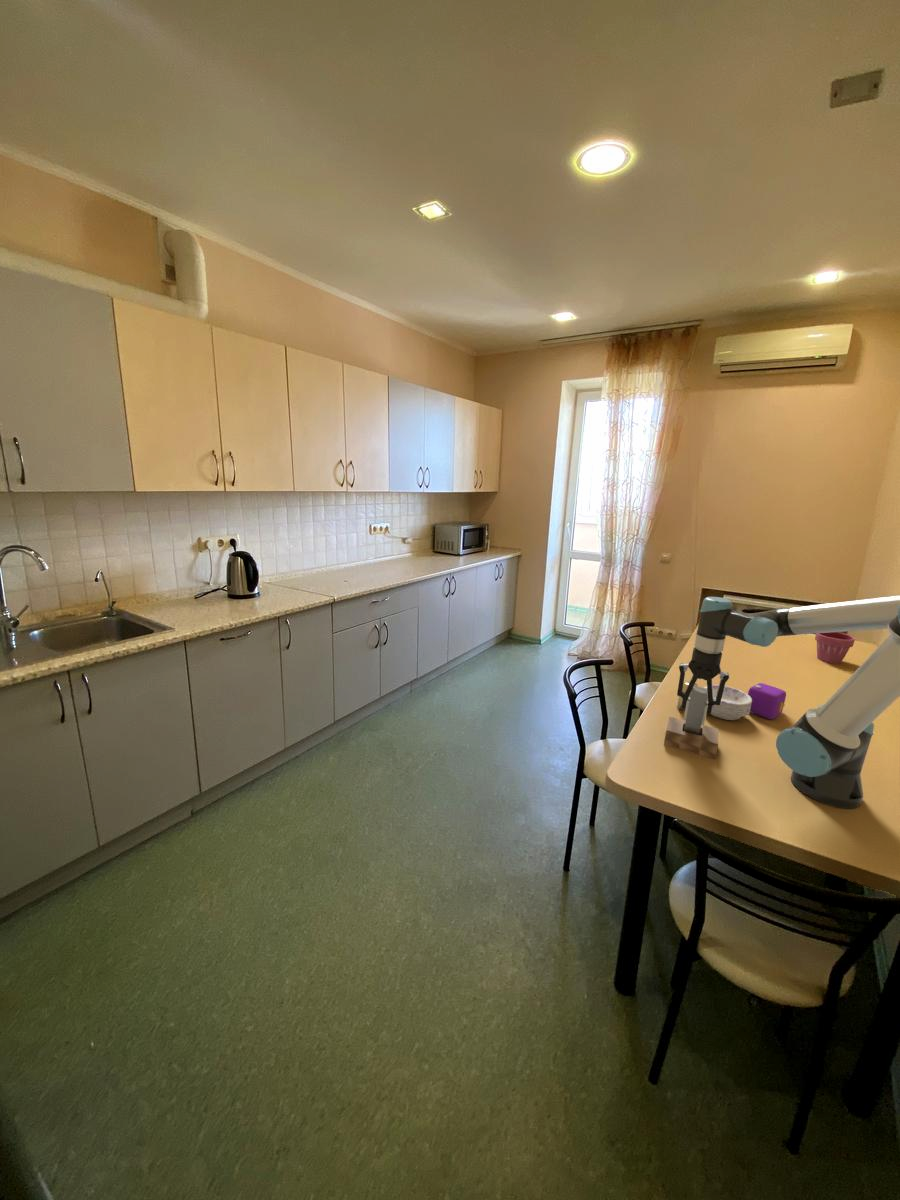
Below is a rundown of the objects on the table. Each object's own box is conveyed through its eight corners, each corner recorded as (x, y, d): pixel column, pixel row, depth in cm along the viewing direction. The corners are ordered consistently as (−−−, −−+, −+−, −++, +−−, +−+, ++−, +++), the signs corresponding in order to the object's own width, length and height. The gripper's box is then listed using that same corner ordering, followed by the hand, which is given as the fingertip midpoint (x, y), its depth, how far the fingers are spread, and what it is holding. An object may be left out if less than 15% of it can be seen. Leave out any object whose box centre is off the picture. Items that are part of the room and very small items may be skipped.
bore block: (715, 743, 147) (718, 729, 146) (715, 759, 138) (718, 744, 137) (667, 730, 153) (669, 716, 152) (663, 744, 145) (666, 730, 144)
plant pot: (817, 663, 219) (824, 637, 215) (805, 653, 232) (811, 628, 229) (854, 667, 215) (861, 641, 212) (839, 657, 228) (846, 632, 225)
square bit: (699, 730, 146) (707, 688, 142) (698, 736, 142) (707, 694, 139) (684, 726, 148) (692, 685, 144) (683, 732, 144) (691, 690, 141)
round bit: (693, 708, 169) (698, 682, 167) (692, 714, 165) (697, 688, 162) (677, 704, 172) (682, 679, 169) (676, 710, 167) (680, 684, 165)
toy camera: (785, 710, 171) (791, 685, 168) (778, 723, 161) (784, 697, 158) (751, 700, 178) (756, 676, 175) (742, 712, 168) (748, 686, 166)
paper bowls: (702, 719, 162) (706, 698, 160) (696, 700, 176) (700, 681, 174) (752, 728, 157) (757, 707, 155) (742, 708, 171) (747, 688, 169)
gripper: (741, 651, 137) (725, 723, 143) (676, 639, 145) (664, 708, 151) (742, 659, 131) (726, 734, 137) (674, 646, 139) (662, 717, 145)
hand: (693, 720), depth 144 cm, fingers closed on square bit, 4 cm apart
